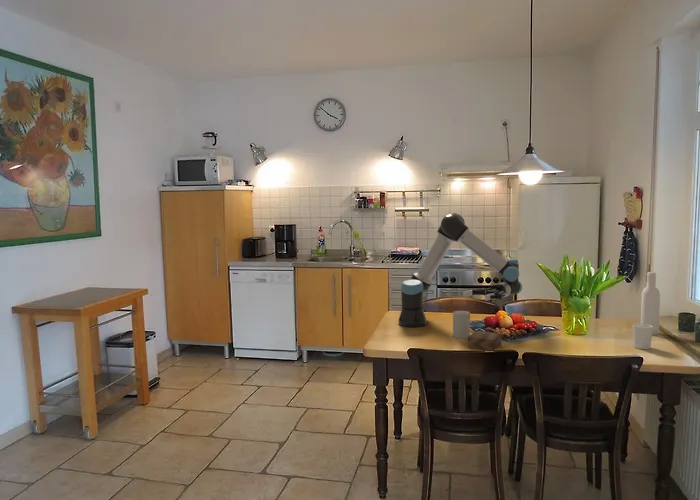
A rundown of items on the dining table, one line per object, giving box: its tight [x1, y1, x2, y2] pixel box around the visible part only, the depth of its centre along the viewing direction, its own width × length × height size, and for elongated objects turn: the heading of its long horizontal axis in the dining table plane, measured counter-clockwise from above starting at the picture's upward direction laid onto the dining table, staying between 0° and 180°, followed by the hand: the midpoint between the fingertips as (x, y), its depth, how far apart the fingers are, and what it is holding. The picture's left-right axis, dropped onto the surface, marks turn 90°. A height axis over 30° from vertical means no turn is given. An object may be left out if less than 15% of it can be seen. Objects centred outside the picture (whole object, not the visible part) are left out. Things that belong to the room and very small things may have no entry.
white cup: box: [632, 322, 653, 350], centre depth 232 cm, size 8×8×10 cm
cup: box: [452, 310, 471, 340], centre depth 256 cm, size 8×8×12 cm
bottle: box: [640, 271, 661, 336], centre depth 255 cm, size 8×8×30 cm
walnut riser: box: [467, 330, 502, 351], centre depth 239 cm, size 12×12×5 cm
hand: (474, 296), depth 261 cm, fingers open, 13 cm apart
